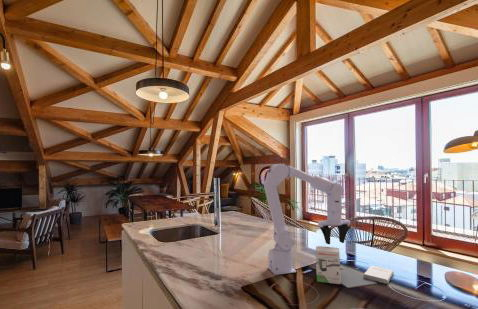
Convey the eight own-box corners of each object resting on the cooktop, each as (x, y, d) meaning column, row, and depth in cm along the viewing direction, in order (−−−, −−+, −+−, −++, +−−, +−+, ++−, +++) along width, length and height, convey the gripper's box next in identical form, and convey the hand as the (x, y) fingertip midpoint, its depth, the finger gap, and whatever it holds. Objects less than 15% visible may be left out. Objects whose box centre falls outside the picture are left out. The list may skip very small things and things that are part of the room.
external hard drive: (363, 278, 100) (371, 268, 109) (387, 284, 94) (393, 273, 104) (363, 273, 100) (371, 264, 109) (387, 279, 94) (393, 269, 104)
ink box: (316, 282, 97) (314, 250, 98) (317, 276, 102) (315, 245, 102) (341, 284, 94) (339, 251, 95) (340, 278, 99) (339, 247, 99)
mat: (347, 288, 92) (347, 287, 92) (324, 272, 106) (324, 271, 106) (377, 283, 96) (377, 283, 96) (351, 269, 109) (351, 268, 109)
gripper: (324, 213, 106) (325, 247, 105) (355, 211, 109) (355, 244, 109) (315, 210, 112) (315, 242, 112) (344, 208, 116) (344, 239, 116)
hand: (334, 243), depth 111 cm, fingers open, 6 cm apart
